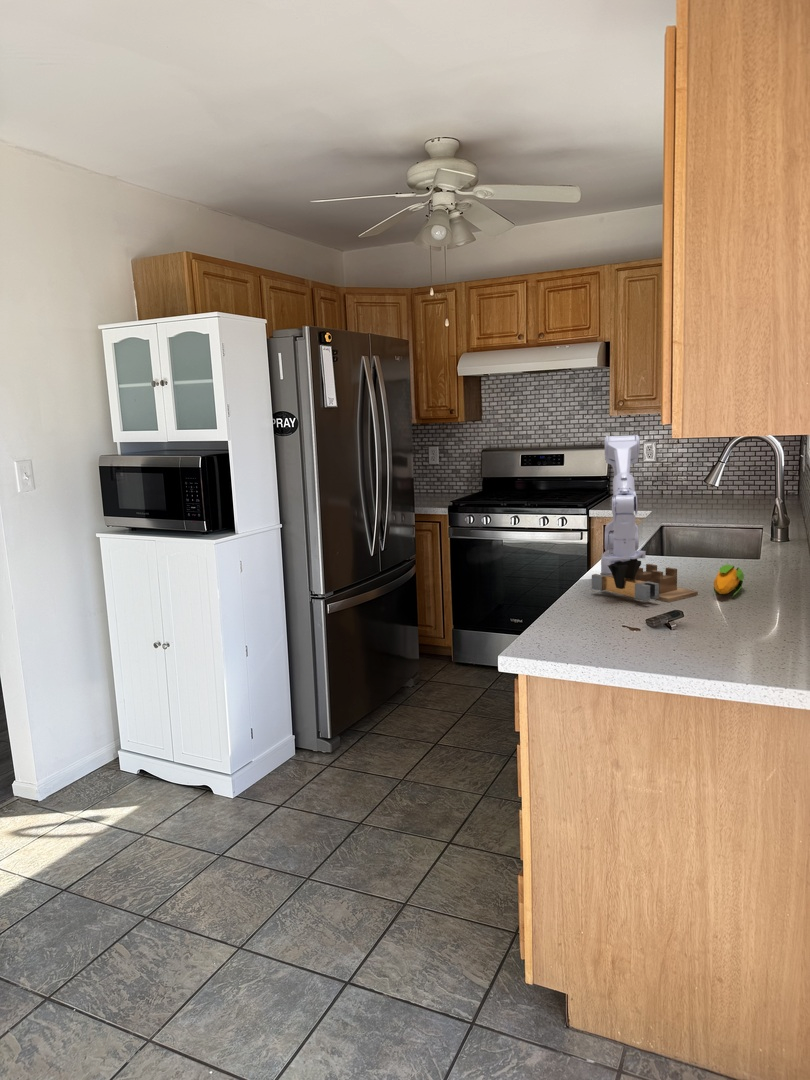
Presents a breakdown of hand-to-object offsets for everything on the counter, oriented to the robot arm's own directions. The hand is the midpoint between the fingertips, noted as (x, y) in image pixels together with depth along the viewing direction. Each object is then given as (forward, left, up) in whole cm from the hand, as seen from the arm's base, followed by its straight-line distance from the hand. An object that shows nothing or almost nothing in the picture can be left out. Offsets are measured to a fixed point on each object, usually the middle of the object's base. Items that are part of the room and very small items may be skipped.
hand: (624, 587), depth 210 cm
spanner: (0, 0, -2) cm, 2 cm away
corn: (+14, +25, -4) cm, 29 cm away
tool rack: (0, +12, -3) cm, 12 cm away
